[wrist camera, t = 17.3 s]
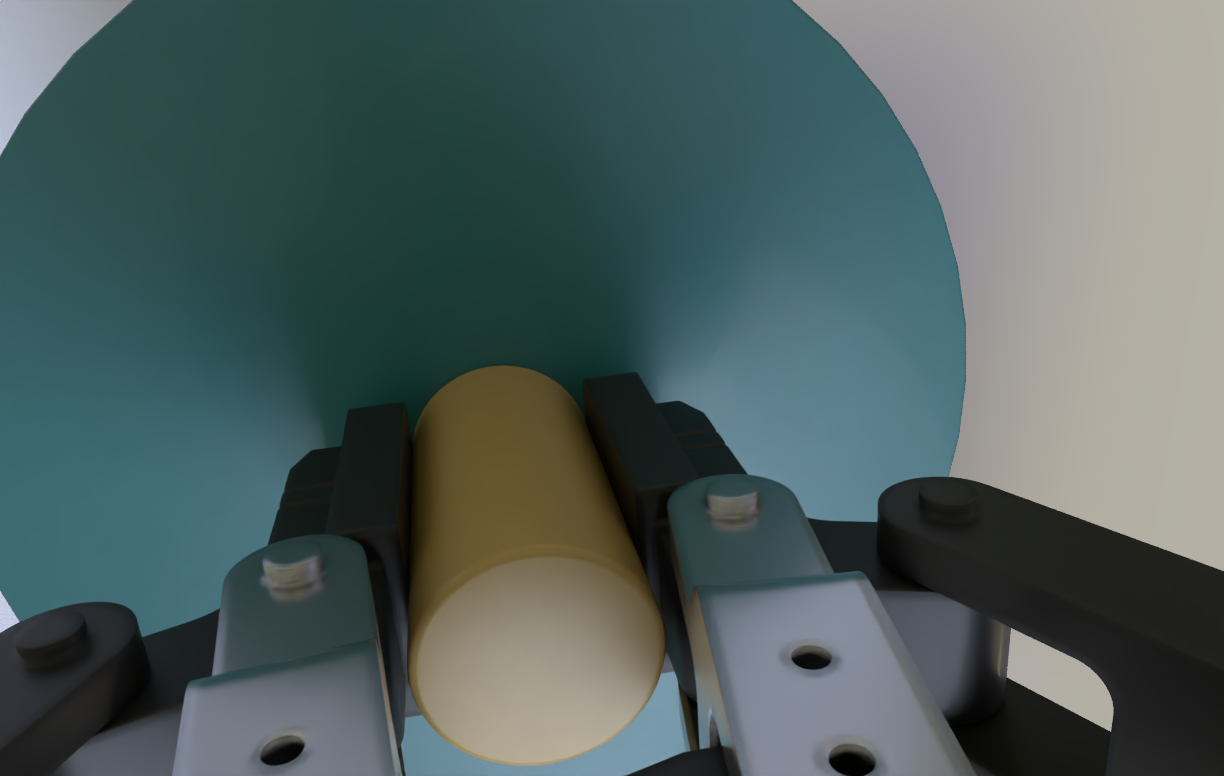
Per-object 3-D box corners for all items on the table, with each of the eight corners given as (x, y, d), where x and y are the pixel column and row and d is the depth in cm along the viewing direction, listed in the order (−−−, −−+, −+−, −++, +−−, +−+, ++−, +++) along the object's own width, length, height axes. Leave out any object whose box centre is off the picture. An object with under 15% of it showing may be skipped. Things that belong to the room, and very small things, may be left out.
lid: (125, 854, 16) (-36, 1307, 11) (-176, -62, 11) (-795, -143, 6) (912, 708, 18) (1136, 1024, 12) (951, -132, 13) (1354, -246, 7)
